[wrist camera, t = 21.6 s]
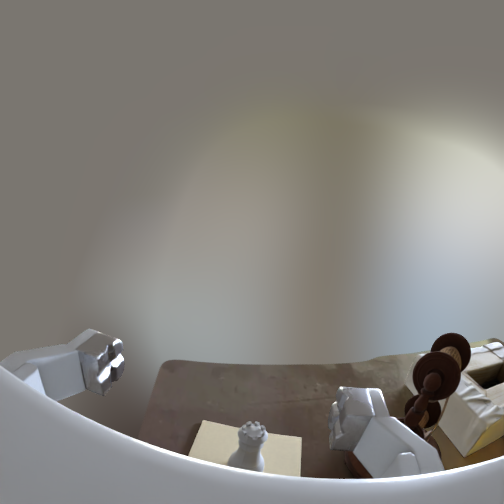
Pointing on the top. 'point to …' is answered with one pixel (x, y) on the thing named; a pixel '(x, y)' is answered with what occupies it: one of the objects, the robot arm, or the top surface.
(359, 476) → the scroll
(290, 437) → the linen mat
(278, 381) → the top surface
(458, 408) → the box
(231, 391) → the top surface
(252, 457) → the rook chess piece
